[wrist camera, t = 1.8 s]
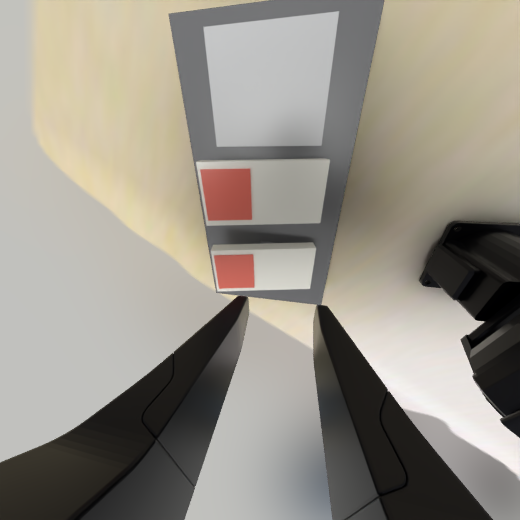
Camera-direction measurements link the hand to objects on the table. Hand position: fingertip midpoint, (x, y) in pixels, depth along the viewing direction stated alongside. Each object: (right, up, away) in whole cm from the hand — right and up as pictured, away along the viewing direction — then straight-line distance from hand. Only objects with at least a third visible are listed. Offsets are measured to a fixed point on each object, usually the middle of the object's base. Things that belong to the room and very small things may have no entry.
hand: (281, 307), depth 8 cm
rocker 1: (-1, +6, +5) cm, 8 cm away
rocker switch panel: (0, +8, +9) cm, 12 cm away
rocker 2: (-1, +1, +8) cm, 8 cm away
